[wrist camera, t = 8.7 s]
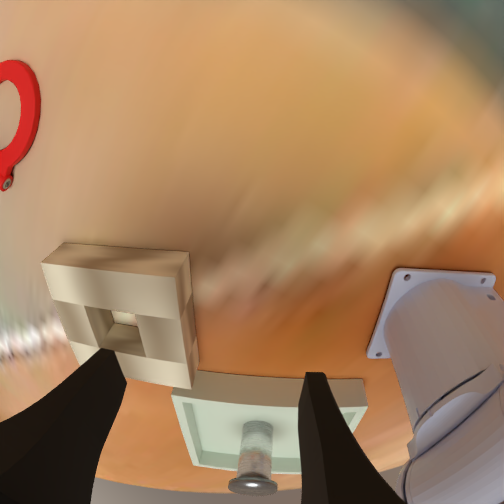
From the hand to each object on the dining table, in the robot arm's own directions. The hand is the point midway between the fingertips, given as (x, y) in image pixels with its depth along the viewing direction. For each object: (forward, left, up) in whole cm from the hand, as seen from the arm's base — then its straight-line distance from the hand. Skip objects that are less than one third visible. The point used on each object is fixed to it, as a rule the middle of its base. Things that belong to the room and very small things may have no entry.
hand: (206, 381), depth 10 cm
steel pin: (-2, +18, -8) cm, 20 cm away
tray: (-3, +19, -9) cm, 21 cm away
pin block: (+8, +5, -9) cm, 13 cm away
